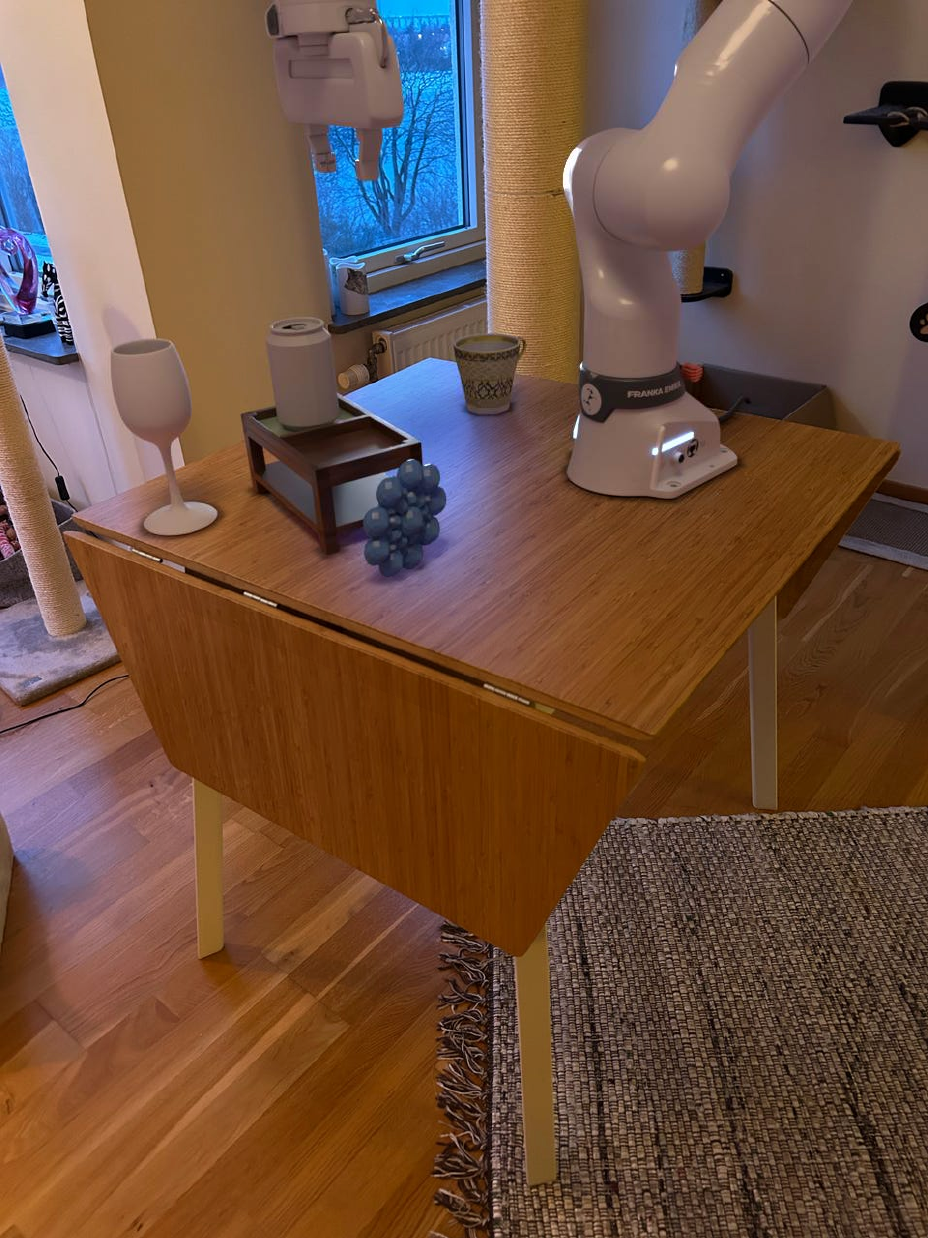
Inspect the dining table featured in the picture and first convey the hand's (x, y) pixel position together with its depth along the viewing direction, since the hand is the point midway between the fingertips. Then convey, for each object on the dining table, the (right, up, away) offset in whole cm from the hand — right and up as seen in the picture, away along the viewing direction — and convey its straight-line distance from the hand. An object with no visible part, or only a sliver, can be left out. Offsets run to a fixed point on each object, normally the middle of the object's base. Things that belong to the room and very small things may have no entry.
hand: (346, 176), depth 92 cm
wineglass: (-23, -33, +19) cm, 44 cm away
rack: (-4, -31, +21) cm, 37 cm away
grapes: (+5, -39, +7) cm, 40 cm away
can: (-7, -21, +20) cm, 29 cm away
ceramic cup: (+17, -12, +50) cm, 54 cm away
